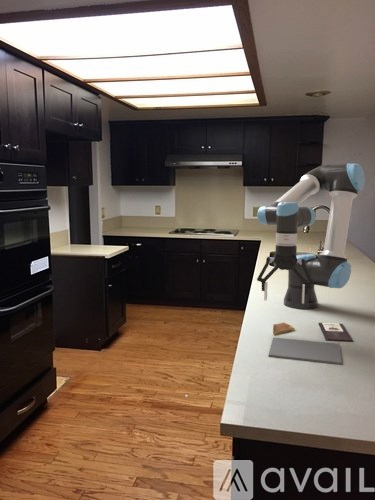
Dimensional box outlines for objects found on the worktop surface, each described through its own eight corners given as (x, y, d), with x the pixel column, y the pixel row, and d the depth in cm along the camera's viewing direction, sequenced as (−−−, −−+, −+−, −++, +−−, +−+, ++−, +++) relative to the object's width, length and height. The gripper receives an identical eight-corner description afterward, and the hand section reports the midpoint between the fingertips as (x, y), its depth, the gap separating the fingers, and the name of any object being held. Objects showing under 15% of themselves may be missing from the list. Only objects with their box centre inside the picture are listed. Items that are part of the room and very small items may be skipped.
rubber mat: (273, 338, 146) (273, 337, 146) (338, 345, 139) (338, 343, 139) (268, 356, 131) (268, 354, 131) (341, 364, 124) (341, 362, 124)
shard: (273, 336, 150) (273, 332, 149) (259, 330, 156) (260, 326, 156) (295, 331, 155) (295, 326, 154) (281, 325, 161) (281, 321, 161)
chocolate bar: (326, 339, 144) (318, 322, 162) (325, 341, 144) (318, 325, 162) (352, 340, 143) (342, 323, 160) (352, 343, 143) (342, 326, 160)
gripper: (250, 244, 150) (249, 300, 153) (322, 247, 142) (319, 306, 145) (253, 242, 157) (252, 296, 160) (321, 244, 150) (319, 301, 152)
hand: (284, 301), depth 152 cm, fingers open, 13 cm apart
